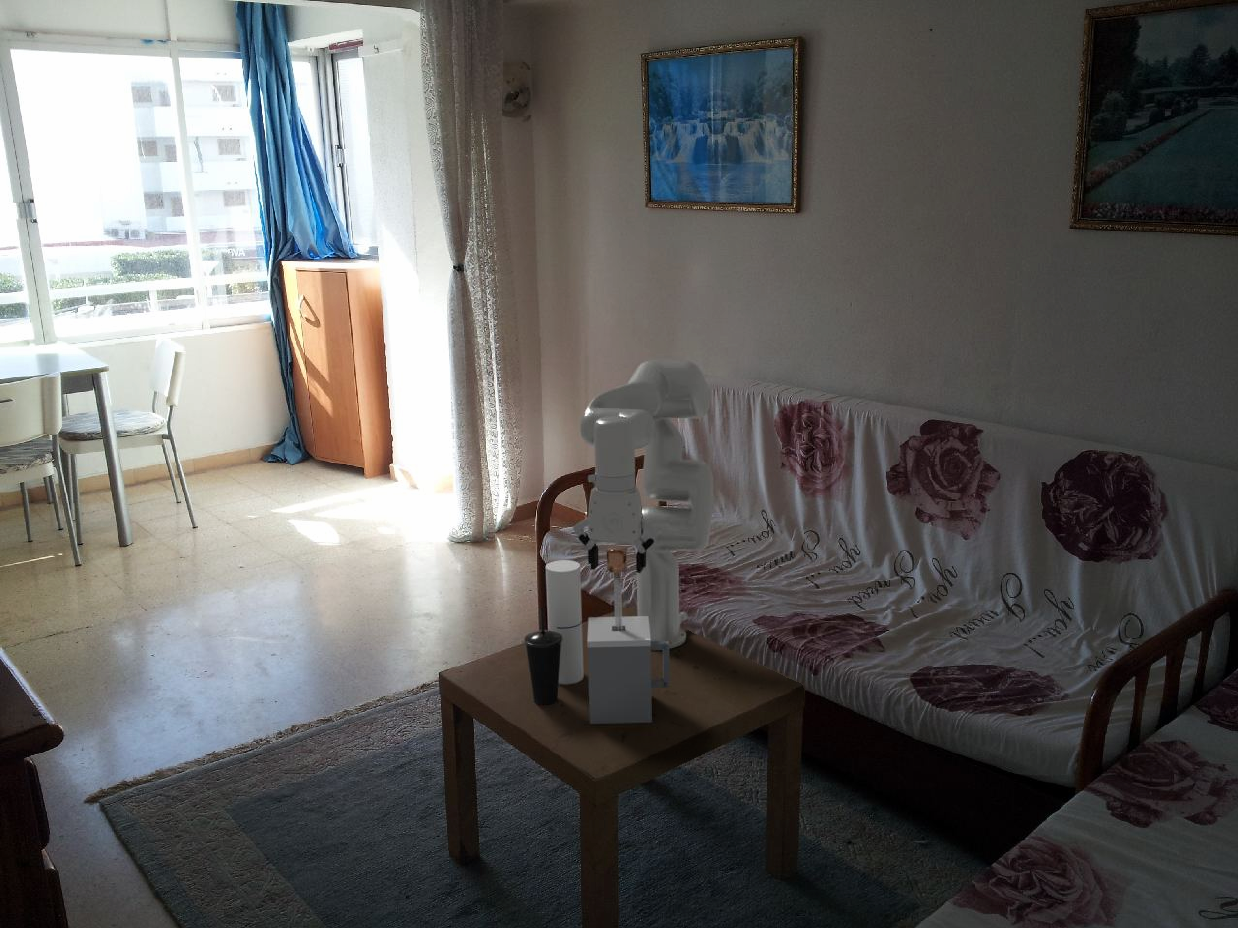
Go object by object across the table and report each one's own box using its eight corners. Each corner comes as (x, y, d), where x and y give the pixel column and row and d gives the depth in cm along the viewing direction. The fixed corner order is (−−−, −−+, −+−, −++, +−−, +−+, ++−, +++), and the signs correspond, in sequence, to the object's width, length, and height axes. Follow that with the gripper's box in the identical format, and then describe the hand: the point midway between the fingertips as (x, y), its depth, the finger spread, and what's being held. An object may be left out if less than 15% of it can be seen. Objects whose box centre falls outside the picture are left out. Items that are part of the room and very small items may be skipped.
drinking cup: (538, 712, 212) (533, 618, 207) (520, 697, 218) (516, 606, 213) (571, 702, 216) (568, 609, 211) (553, 688, 222) (549, 598, 217)
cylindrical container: (579, 685, 223) (575, 572, 217) (546, 682, 225) (541, 570, 219) (587, 670, 230) (583, 560, 224) (554, 668, 231) (550, 559, 225)
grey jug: (589, 723, 207) (587, 641, 203) (590, 695, 218) (588, 617, 214) (671, 721, 207) (670, 639, 203) (668, 693, 218) (667, 615, 214)
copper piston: (596, 671, 206) (593, 557, 200) (596, 652, 215) (593, 542, 209) (642, 670, 206) (641, 556, 200) (641, 651, 215) (639, 541, 209)
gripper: (565, 485, 200) (568, 572, 204) (655, 489, 196) (657, 578, 200) (576, 475, 207) (579, 559, 211) (664, 479, 203) (665, 565, 207)
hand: (617, 568), depth 205 cm, fingers open, 8 cm apart
